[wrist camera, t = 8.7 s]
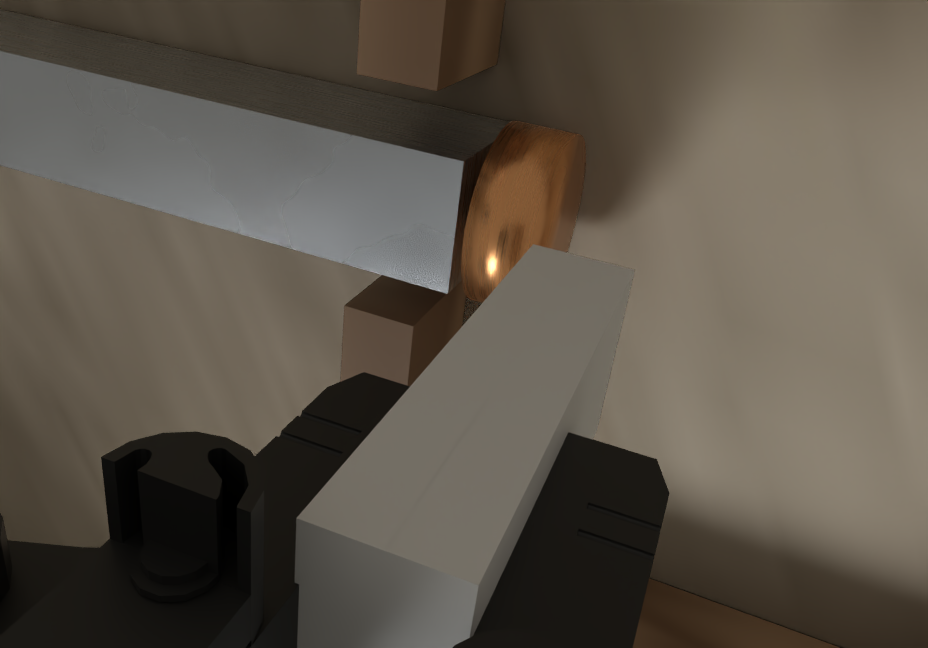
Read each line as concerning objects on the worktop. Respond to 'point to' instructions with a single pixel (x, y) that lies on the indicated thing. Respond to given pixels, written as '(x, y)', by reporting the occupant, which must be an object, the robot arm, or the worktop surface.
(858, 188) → the worktop surface
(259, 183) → the bar
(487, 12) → the frame
